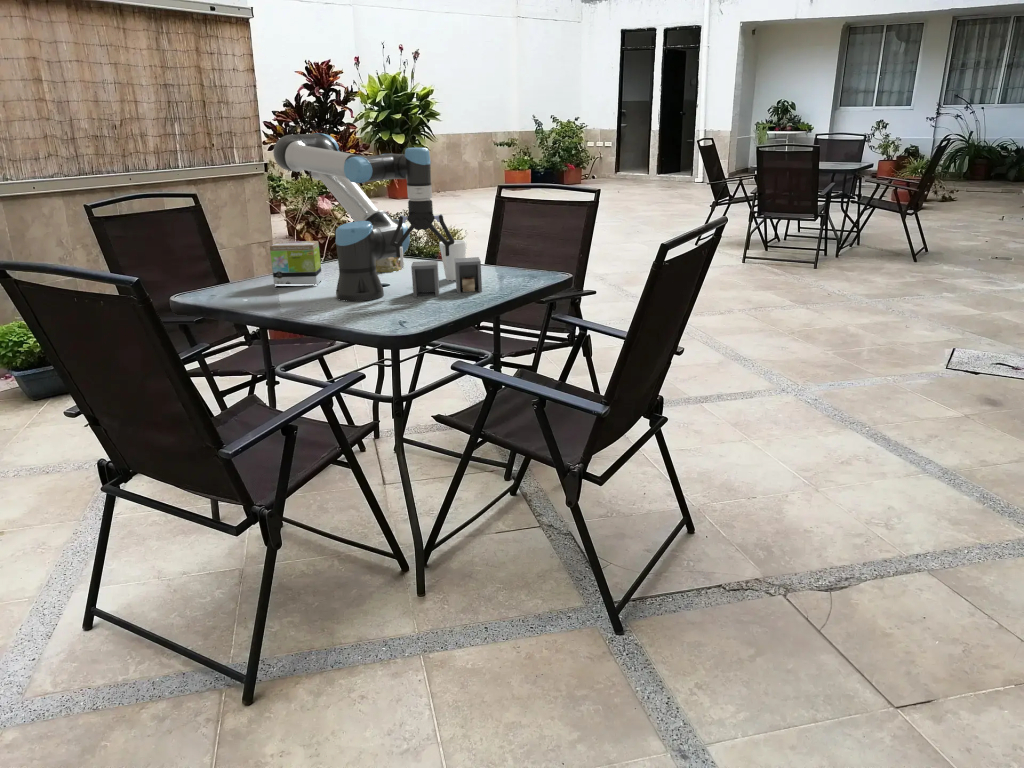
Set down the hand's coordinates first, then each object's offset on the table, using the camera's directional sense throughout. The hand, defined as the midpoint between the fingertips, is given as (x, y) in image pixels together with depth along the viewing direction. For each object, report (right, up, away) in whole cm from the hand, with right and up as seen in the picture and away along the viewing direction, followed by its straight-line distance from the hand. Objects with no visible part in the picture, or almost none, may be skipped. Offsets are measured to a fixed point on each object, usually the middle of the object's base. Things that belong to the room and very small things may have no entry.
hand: (423, 267), depth 250 cm
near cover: (+1, -8, +3) cm, 9 cm away
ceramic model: (-19, +6, +48) cm, 52 cm away
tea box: (-47, -3, +25) cm, 53 cm away
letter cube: (+14, -7, +7) cm, 17 cm away
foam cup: (+8, 0, +25) cm, 27 cm away
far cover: (+14, -7, +6) cm, 17 cm away
